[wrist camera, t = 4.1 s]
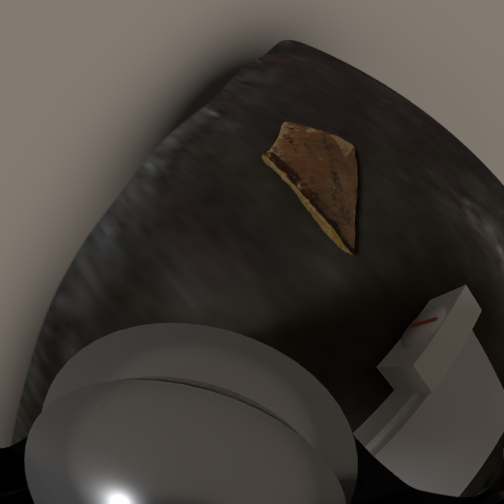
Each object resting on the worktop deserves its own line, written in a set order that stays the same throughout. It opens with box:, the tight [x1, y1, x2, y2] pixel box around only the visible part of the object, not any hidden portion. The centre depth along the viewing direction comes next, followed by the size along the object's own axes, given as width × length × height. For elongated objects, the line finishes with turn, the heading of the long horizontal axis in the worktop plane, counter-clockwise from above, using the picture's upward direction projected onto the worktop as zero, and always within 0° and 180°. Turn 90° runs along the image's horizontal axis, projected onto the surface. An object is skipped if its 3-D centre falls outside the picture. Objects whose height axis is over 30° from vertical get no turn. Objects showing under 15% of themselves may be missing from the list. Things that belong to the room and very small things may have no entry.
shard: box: [262, 122, 358, 256], centre depth 20 cm, size 11×8×2 cm
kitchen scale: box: [353, 285, 504, 497], centre depth 12 cm, size 12×15×4 cm
